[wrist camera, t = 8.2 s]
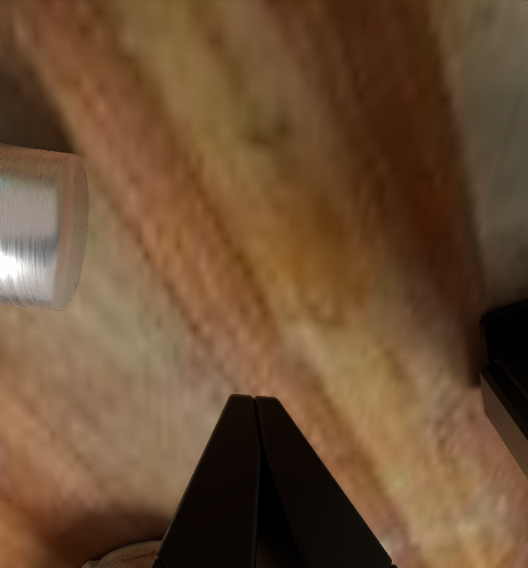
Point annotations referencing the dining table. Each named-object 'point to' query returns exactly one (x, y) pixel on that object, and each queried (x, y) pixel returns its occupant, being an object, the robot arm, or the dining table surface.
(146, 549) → the bread roll
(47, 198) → the tube
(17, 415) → the dining table surface
